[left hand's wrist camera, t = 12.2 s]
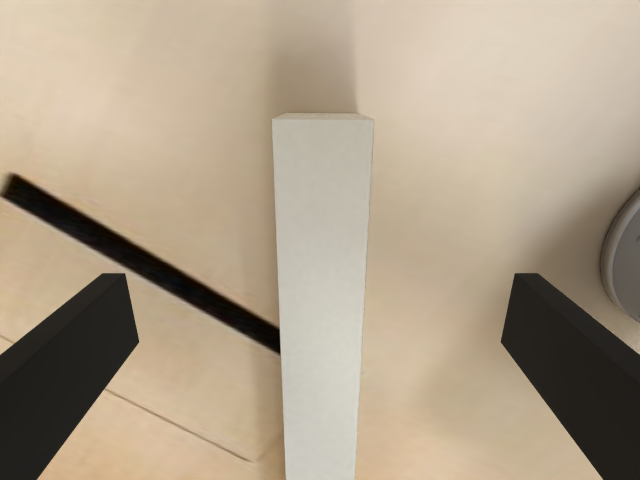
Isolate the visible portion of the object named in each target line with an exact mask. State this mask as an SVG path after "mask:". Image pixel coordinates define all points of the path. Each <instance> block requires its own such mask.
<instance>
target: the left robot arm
mask: <svg viewBox="0 0 640 480" xmlns="http://www.w3.org/2000/svg"><path fill="white" fill-rule="evenodd" d="M600 271H601V278H602V282H603V286H604V288H605V291H606V293H607V294H608V296H609V298H610V299H611V300H612V302H613V303H614V304H615V305H616V306H617V307H618V308H619V309H621V310H622V311H623V312H625V313H626V314H627V315H629V316H630V317H632V318H633V319H635V320H636V321H638V322H640V189H639V190H638V191H637V192H636V193H635V194H634V195H633V196H632V197H631V198H630V199H629V200H628V201H627V202H626V204H625V205H624V206H623V208H622V209H621V210H620V211H619V213H618V215H617V216H616V218H615V219H614V221H613V223H612V225H611V227H610V228H609V231H608V233H607V235H606V238H605V241H604V244H603V248H602V253H601V261H600ZM138 343H139V338H138V334H137V329H136V324H135V319H134V314H133V309H132V304H131V300H130V295H129V290H128V285H127V280H126V275H125V273H102V274H101V275H100V276H99V277H97V278H96V279H95V280H94V281H92V282H91V283H90V284H89V285H87V286H86V287H85V288H84V289H82V290H81V291H80V292H79V293H77V294H76V295H75V296H74V297H72V298H71V299H70V300H69V301H67V302H66V303H65V304H64V305H62V306H61V307H60V308H59V309H57V310H56V311H55V312H54V313H52V314H51V315H50V316H49V317H47V318H46V319H45V320H44V321H42V322H41V323H40V324H39V325H37V326H36V327H35V328H34V329H32V330H31V331H30V332H29V333H27V334H26V335H25V336H24V337H22V338H21V339H20V340H19V341H17V342H16V343H15V344H14V345H12V346H11V347H10V348H9V349H7V350H6V351H5V352H4V353H2V354H1V355H0V480H37V479H38V477H39V476H40V475H41V473H42V472H43V471H44V469H45V468H46V467H47V465H48V464H49V462H50V461H51V460H52V458H53V457H54V456H55V454H56V453H57V452H58V450H59V449H60V448H61V446H62V445H63V444H64V442H65V441H66V440H67V438H68V437H69V436H70V434H71V433H72V432H73V430H74V429H75V428H76V426H77V425H78V424H79V422H80V421H81V420H82V418H83V417H84V415H85V414H86V413H87V411H88V410H89V409H90V407H91V406H92V405H93V403H94V402H95V401H96V399H97V398H98V397H99V395H100V394H101V393H102V391H103V390H104V389H105V387H106V386H107V385H108V383H109V382H110V381H111V379H112V378H113V377H114V375H115V374H116V373H117V371H118V370H119V368H120V367H121V366H122V364H123V363H124V362H125V360H126V359H127V358H128V356H129V355H130V354H131V352H132V351H133V350H134V348H135V347H136V346H137V344H138ZM501 343H502V344H503V346H504V347H505V348H506V350H507V351H508V352H509V354H510V355H511V356H512V358H513V359H514V360H515V362H516V363H517V364H518V366H519V367H520V368H521V370H522V371H523V373H524V374H525V375H526V377H527V378H528V379H529V381H530V382H531V383H532V385H533V386H534V387H535V389H536V390H537V391H538V393H539V394H540V395H541V397H542V398H543V399H544V401H545V402H546V403H547V405H548V406H549V407H550V409H551V410H552V411H553V413H554V414H555V415H556V417H557V418H558V420H559V421H560V422H561V424H562V425H563V426H564V428H565V429H566V430H567V432H568V433H569V434H570V436H571V437H572V438H573V440H574V441H575V442H576V444H577V445H578V446H579V448H580V449H581V450H582V452H583V453H584V454H585V456H586V457H587V458H588V460H589V461H590V462H591V464H592V465H593V467H594V468H595V469H596V471H597V472H598V473H599V475H600V476H601V477H602V479H603V480H640V355H639V354H638V353H636V352H635V351H634V350H633V349H631V348H630V347H629V346H628V345H626V344H625V343H624V342H623V341H621V340H620V339H619V338H618V337H616V336H615V335H614V334H613V333H611V332H610V331H609V330H608V329H606V328H605V327H604V326H603V325H601V324H600V323H599V322H598V321H596V320H595V319H594V318H593V317H591V316H590V315H589V314H588V313H586V312H585V311H584V310H583V309H581V308H580V307H579V306H578V305H576V304H575V303H574V302H573V301H571V300H570V299H569V298H568V297H566V296H565V295H564V294H563V293H561V292H560V291H559V290H558V289H556V288H555V287H554V286H553V285H551V284H550V283H549V282H548V281H546V280H545V279H544V278H543V277H541V276H540V275H539V274H538V273H515V275H514V280H513V285H512V290H511V295H510V300H509V304H508V309H507V314H506V319H505V324H504V329H503V334H502V338H501Z"/></svg>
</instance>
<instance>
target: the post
mask: <svg viewBox="0 0 640 480" xmlns="http://www.w3.org/2000/svg"><path fill="white" fill-rule="evenodd" d="M373 134H374V119H372V118H369V117H366V116H363V115H361V114H358V113H285V114H283V115H280V116H278V117H275V118H273V119H272V143H273V168H274V194H275V219H276V245H277V270H278V296H279V321H280V347H281V372H282V398H283V423H284V449H285V474H286V480H355V466H356V448H357V429H358V411H359V392H360V374H361V356H362V337H363V319H364V300H365V282H366V263H367V245H368V226H369V208H370V189H371V171H372V152H373Z"/></svg>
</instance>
